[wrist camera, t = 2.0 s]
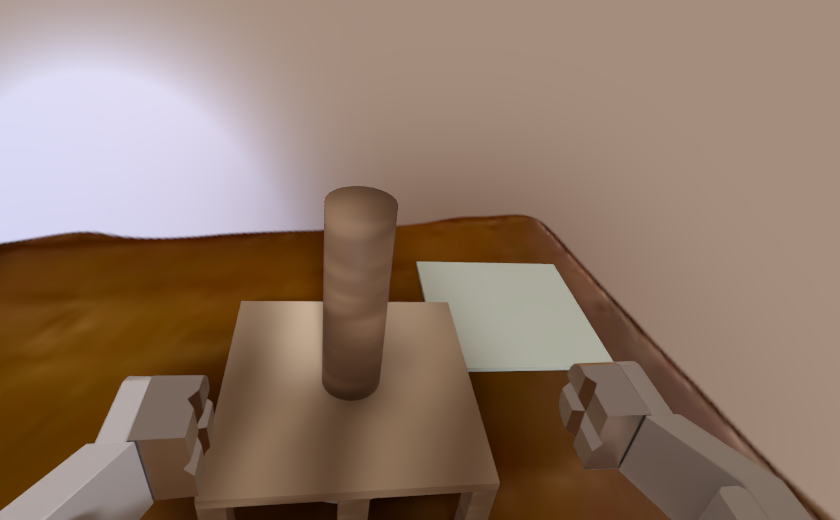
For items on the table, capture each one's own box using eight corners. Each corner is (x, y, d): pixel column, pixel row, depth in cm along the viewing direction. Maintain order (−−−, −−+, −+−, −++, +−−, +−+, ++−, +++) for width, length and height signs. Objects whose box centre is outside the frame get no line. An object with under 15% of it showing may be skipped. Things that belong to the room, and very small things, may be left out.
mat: (440, 372, 38) (441, 368, 38) (416, 265, 49) (416, 261, 49) (613, 368, 40) (615, 365, 40) (552, 267, 52) (553, 264, 52)
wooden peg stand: (209, 571, 25) (148, 297, 16) (247, 367, 36) (225, 136, 27) (477, 549, 27) (562, 299, 18) (436, 364, 39) (476, 151, 29)
